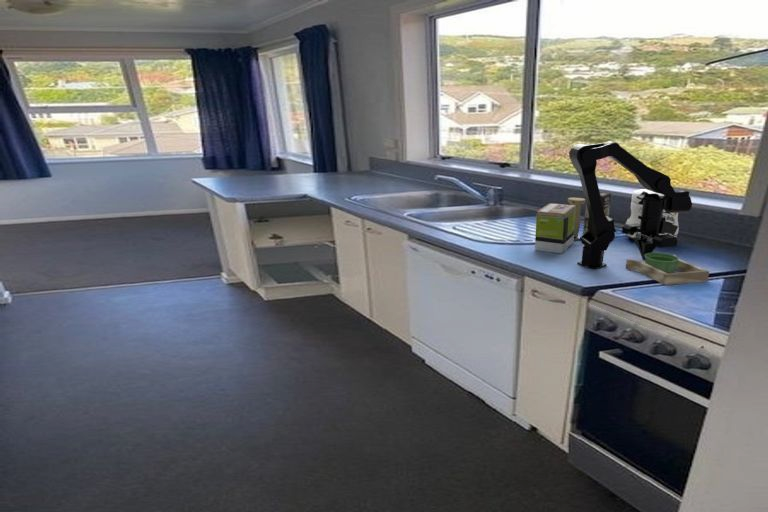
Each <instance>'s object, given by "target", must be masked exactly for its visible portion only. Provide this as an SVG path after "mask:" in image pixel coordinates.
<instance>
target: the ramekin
mask: <svg viewBox="0 0 768 512" xmlns="http://www.w3.org/2000/svg"><path fill="white" fill-rule="evenodd" d="M674 255H675V254H669V253H666V252H656V251H655V252H654V251H653V252H651V253H647V254H645V261H644V263H646V264H648V265H651V266H653V267H655V268H657V269H659V270H661V271H663V272H666V273H668V274H669V273H675V270H676V269H675V266H676V263H677V261H678V259H679V258H678V257H676V256H677V255H676V256H674Z"/></svg>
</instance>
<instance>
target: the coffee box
mask: <svg viewBox="0 0 768 512" xmlns="http://www.w3.org/2000/svg"><path fill="white" fill-rule="evenodd" d="M599 192H600V191H599ZM600 196H601V200H602V204H603V209H604V213H605V216H607V217H609V215H610V205H611V197H612V193H611V192H604V191H603V192H600ZM588 221H589V213H588V209H587V205H586V204H585V211H584V221H583V227H582V228H583V229H582V236H583V235H584V234H585V233H586V232H587V231H588Z"/></svg>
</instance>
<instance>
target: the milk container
mask: <svg viewBox="0 0 768 512" xmlns="http://www.w3.org/2000/svg"><path fill="white" fill-rule="evenodd" d="M643 191H645V192H647V193H648V194H658V195H659V196H664V195H663V194H660V193H656V192H653V191H650V190H647V189H645V188H643V189H642V188H641V189H635V190H633V192H632V195H631V202H630V208H629V209H630V210H629V216H628V217H627V220H626V222H625V224H635V223H638V224H640V222H641V219H638V215H642V208H643V201H644V200H640V199H638V198H637V196H638V195H640V194H641V193H642V192H643ZM662 217H665V219H666V222H667V223H670V224H673V225H676V226H678V228H677V230H676V232H675V234H674V235H672V236H674V237H677V236H678V234H679V230H680V227H679V226H680V225H679V219H678V218H679V213H667V212H665V210H664V209H663V214H662ZM666 234H669V235H671V234H670V233H665V234H659V235H666ZM626 236H627V237H628V238H629V239H631V240H634V239H633V238H634V237H635V236H636V233H635V232H630V233H629V234H626ZM651 236H652V235H651ZM634 241H635V240H634Z"/></svg>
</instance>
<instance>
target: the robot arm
mask: <svg viewBox="0 0 768 512" xmlns="http://www.w3.org/2000/svg"><path fill="white" fill-rule="evenodd" d="M568 157H569V159H570V162H571V164H572V166H573V168H574V169H575V171H576V172H577V174H578V176H579V179H580V185H581V187H582V192H583V195H584V199H585V201H586V202H585V206H586V205H587V209H588V213H589V221H588V231H587V232H586V233H585V234H584V235H583V234H582V236H580V238H579V239H580V240H579V241H580V243H581V244H582V245H583V247H582V255H581V261H578V262H577V263H576V264H577V265H580V266H582V267H585V268H588V269H591V270H596V269H599V268H603V267H606V266H607V265H608V264H607V263H605V262H604V256H605V255H604V254H605V251H607V250H608V248H609V246H610V244H611V242H613V241H614V239H615V237H616V233H617V232H618V230H616V228H615V221H614V219H612V217H611V218H610V217H609V216H608V217H607V216H605V213H604V209H603V204H602V200H601V196H600V188H599V185H598V179H597V175H596V169H597V165H598V162H597V161H599V160H602V159H603V160H604V159H606V158H611V159H612V160H613V161H614V162H615V163H617V164H619V166H622V167H623V168H624V169H626V171H628V172H629V173H631V174H632V175H633V176H634V177H635V178H636V180H637V182H639V184H640V185H641V186H642V187H643V189H647V190H650V191H653V192H656V193H660V194H663V195H664V196H659V195H658V194H648V193H647V192H645V191H643V192H642V193H641V194H640V195H638V196H637V198H638V199H640V200H644V201H643V208H642V215H638V219H641V222H640V224H638V223H635V224H626V223H625V224H624V225H623V226H622V228H621V229H622V230H621V232H622V233H623V234H625V235H627V234H629V233H630V232H635V233H636V236H635V237H634V238H633V239H634V242H635V245H636V247H637V248H638V250H639V253H640V255H641V259H642V261H643V262H645V254H647V253H651V252H654V251H655V249H656V247H658V248H661V249H663V248H674V247H678V245H679V239H678V237H677V236H676V237H674V236H672V235H674V234H675V232H676V230H677V228H678V226H676V225H673V224H670V223H667V222H666V219H665V217H662V214H663V209H664V210H665V212H667V213H678V214H679V213H689V212H690V211H691V209H692V206H693V202H692V197H691V196H690V191H689V190H683V189H682V190H679V191H677V190H675V189H674V187H673V186H672V184H671V181H672V180H671V179H672V178H671V177H669V175H667V174H666V173H663V172H660V171H659V170H656V169H654V168H651V167H649V166H647V164H645V163H644V162H643V161H641V160H640V159H638V158H637V157H636V156H634V155H633V154H631V153H630V152H629V151H627V149H625V148H623V147H622V146H621V145H620V144H619V143H618V142H615V141H606V142H601V143H594V144H583V143H577V144H575V145H573V146H572V147H571V148H570V149H569V152H568ZM665 233H670V234H671V235H669V234H666V235H659V234H665ZM651 235H652V236H651ZM633 239H632V240H633Z"/></svg>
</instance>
